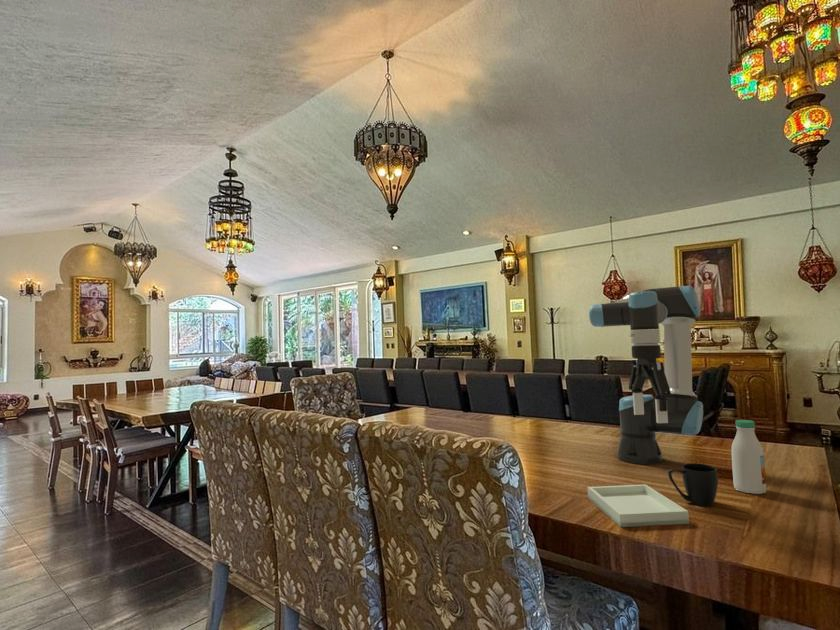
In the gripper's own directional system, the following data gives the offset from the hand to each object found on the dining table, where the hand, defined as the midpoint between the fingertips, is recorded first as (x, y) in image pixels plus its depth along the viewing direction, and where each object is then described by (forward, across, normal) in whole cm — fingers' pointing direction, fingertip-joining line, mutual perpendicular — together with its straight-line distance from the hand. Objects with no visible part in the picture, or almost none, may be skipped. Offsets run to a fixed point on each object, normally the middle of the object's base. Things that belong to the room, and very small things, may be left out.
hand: (650, 418), depth 128 cm
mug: (+22, +5, +8) cm, 24 cm away
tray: (+22, +8, -10) cm, 26 cm away
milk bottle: (+22, -3, +29) cm, 37 cm away
